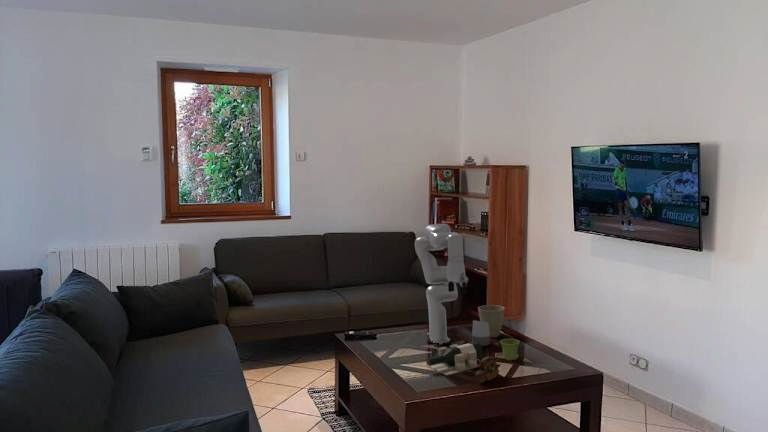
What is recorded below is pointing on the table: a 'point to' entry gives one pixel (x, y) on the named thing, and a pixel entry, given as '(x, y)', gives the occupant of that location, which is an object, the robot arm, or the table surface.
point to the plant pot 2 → (510, 348)
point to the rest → (456, 362)
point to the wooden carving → (487, 369)
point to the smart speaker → (481, 333)
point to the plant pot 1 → (492, 318)
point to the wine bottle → (451, 352)
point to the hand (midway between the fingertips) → (457, 292)
